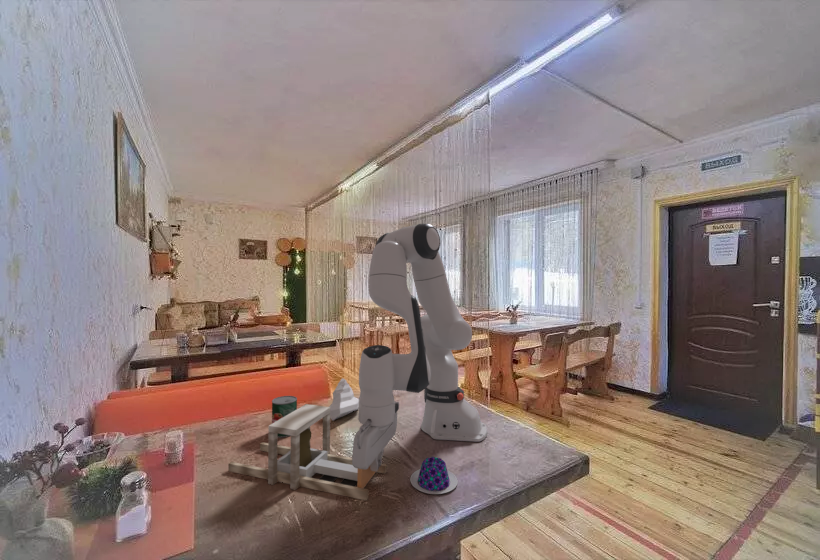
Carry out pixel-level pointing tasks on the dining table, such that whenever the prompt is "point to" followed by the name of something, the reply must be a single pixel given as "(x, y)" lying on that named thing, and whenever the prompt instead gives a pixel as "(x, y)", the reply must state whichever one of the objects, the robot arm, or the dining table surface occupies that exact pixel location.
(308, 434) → the olive rounded cylinder
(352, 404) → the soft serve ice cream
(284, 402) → the canned tomato
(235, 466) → the tunnel track
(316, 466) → the sled fence
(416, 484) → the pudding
